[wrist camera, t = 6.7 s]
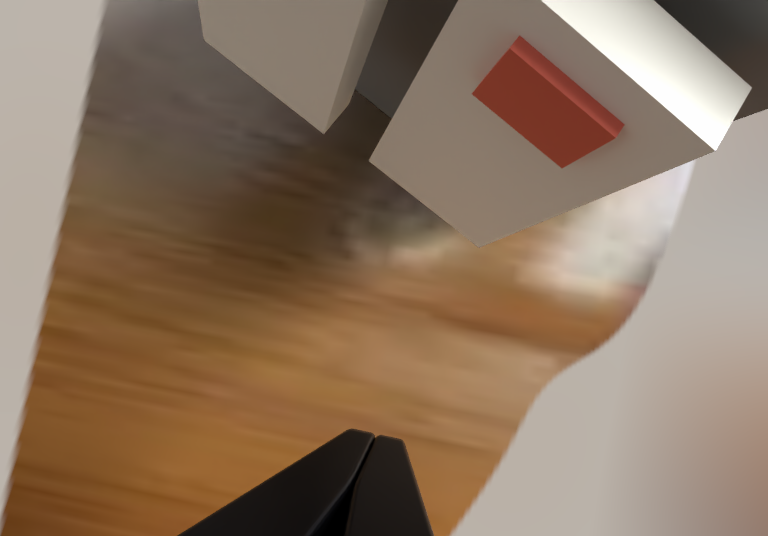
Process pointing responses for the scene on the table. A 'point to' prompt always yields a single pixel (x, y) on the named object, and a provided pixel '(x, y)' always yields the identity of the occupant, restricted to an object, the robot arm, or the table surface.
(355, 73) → the block
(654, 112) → the block
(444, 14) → the switch box
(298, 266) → the table surface
